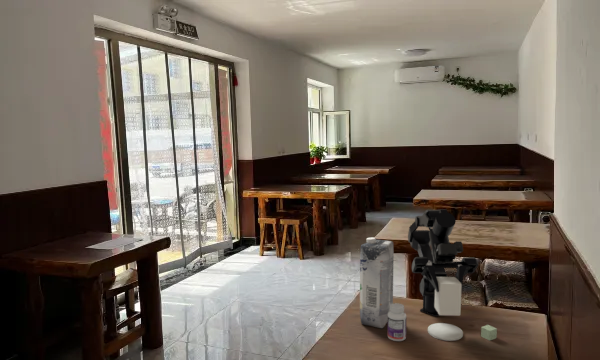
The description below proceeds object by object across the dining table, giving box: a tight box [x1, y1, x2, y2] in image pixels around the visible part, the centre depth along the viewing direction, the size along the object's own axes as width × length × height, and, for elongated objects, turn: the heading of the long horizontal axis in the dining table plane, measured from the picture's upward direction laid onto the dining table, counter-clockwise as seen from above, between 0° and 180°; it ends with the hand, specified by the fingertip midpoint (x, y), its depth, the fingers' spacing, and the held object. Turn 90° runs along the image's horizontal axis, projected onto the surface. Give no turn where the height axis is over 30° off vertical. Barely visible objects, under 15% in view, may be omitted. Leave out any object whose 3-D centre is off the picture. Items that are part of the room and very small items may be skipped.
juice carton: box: [359, 236, 395, 329], centre depth 143 cm, size 9×10×27 cm
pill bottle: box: [387, 302, 407, 342], centre depth 133 cm, size 5×5×10 cm
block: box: [480, 324, 498, 341], centre depth 133 cm, size 3×3×3 cm
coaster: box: [427, 322, 464, 342], centre depth 136 cm, size 10×10×1 cm
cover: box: [434, 276, 463, 316], centre depth 135 cm, size 6×6×10 cm
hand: (449, 291), depth 133 cm, fingers closed on cover, 6 cm apart
